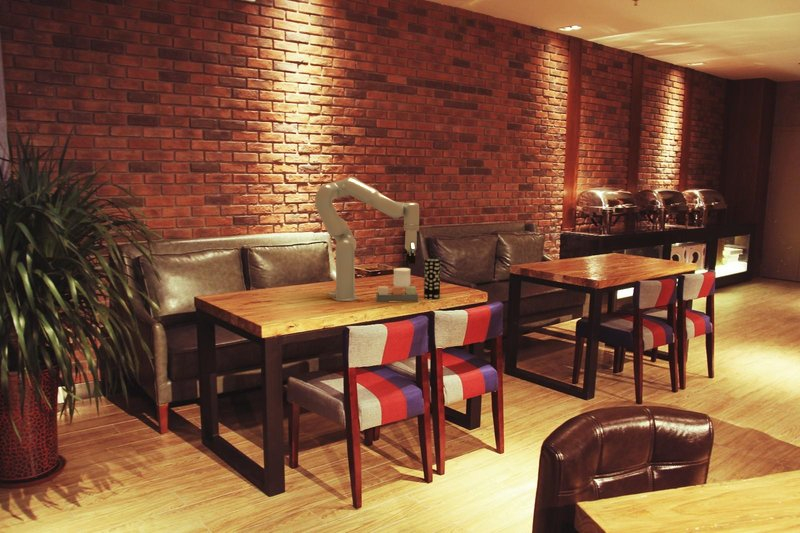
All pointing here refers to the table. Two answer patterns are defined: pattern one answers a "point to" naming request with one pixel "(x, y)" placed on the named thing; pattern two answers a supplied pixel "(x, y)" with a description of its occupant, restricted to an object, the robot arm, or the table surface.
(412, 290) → the sage button
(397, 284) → the cup
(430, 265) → the white-spotted black cylinder
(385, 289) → the white button
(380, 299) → the button box
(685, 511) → the table surface
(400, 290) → the clay button
